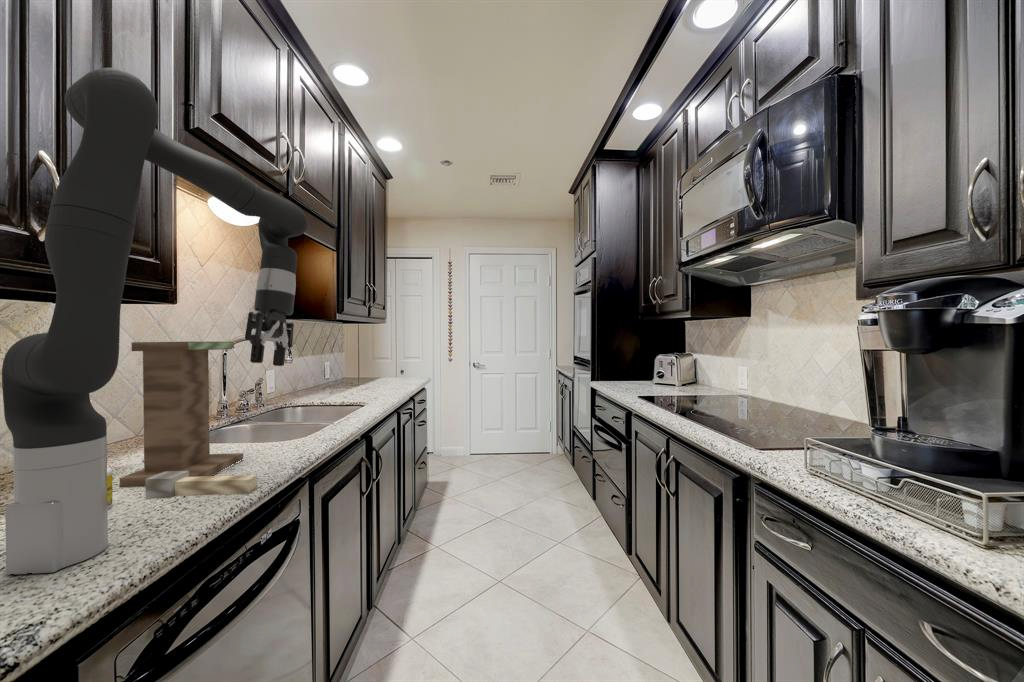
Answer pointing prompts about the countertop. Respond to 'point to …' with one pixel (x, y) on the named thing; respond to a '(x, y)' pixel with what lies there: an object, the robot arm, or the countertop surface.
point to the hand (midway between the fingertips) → (267, 364)
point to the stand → (177, 411)
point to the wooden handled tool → (197, 484)
